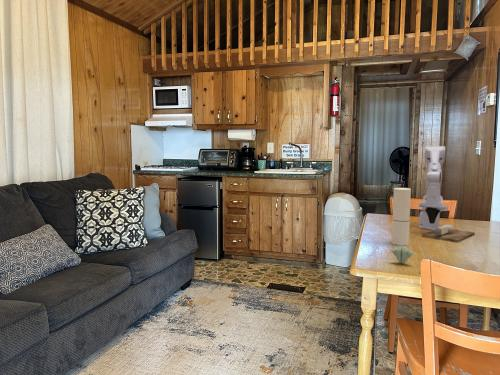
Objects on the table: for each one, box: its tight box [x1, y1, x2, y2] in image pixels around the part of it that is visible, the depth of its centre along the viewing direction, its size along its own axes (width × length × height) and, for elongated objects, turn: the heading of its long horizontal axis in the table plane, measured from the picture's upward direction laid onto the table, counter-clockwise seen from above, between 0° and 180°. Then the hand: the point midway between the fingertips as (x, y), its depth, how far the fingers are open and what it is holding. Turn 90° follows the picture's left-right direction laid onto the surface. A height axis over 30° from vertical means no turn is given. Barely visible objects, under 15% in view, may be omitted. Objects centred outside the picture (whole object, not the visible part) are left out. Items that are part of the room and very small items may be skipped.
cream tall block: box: [391, 187, 412, 246], centre depth 173 cm, size 7×7×25 cm
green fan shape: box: [390, 245, 414, 265], centre depth 144 cm, size 8×4×7 cm, turn 57°
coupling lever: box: [435, 223, 454, 236], centre depth 185 cm, size 14×4×3 cm, turn 132°
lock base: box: [421, 228, 476, 243], centre depth 188 cm, size 16×22×2 cm
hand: (432, 223), depth 188 cm, fingers closed
